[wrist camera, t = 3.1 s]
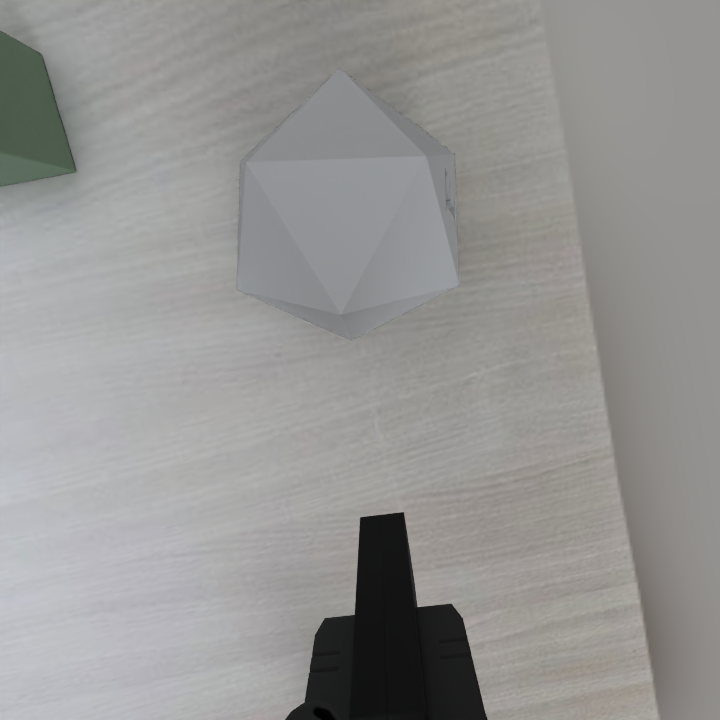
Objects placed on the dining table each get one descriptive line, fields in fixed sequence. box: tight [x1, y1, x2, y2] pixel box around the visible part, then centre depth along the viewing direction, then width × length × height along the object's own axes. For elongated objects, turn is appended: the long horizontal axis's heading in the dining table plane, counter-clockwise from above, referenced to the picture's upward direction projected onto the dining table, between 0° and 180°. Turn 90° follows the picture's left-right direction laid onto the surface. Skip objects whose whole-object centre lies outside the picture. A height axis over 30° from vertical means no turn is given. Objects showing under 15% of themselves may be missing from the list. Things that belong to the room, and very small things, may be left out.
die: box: [237, 69, 459, 340], centre depth 17 cm, size 8×9×10 cm
